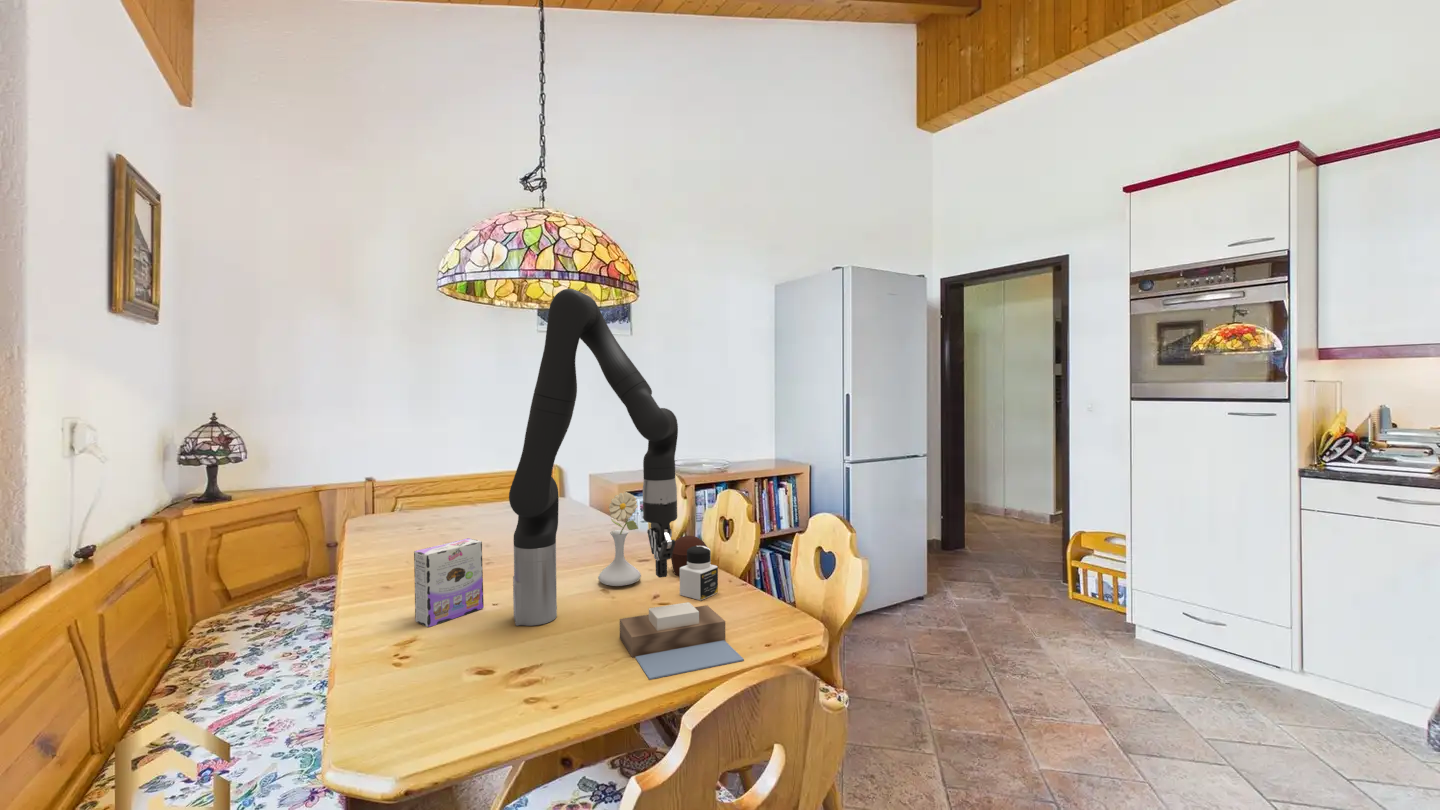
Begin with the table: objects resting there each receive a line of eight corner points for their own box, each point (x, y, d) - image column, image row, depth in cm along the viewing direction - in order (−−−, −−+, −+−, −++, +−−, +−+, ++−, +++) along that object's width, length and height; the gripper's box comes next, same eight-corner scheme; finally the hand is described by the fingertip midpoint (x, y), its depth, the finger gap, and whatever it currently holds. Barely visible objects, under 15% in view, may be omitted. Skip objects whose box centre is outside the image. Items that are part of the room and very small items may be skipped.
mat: (649, 679, 109) (649, 678, 109) (635, 657, 118) (635, 656, 118) (743, 660, 117) (743, 659, 117) (724, 641, 126) (724, 640, 126)
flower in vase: (589, 583, 163) (588, 490, 162) (623, 573, 171) (622, 485, 170) (619, 594, 154) (619, 497, 153) (653, 583, 162) (653, 491, 161)
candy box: (470, 603, 147) (469, 537, 147) (484, 609, 144) (483, 540, 143) (414, 622, 136) (412, 549, 136) (428, 628, 133) (426, 553, 132)
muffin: (671, 565, 178) (671, 532, 178) (709, 566, 178) (709, 532, 177) (666, 578, 166) (666, 542, 166) (707, 579, 166) (707, 543, 166)
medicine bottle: (700, 601, 149) (700, 553, 149) (679, 595, 153) (678, 548, 153) (718, 593, 155) (718, 546, 154) (696, 587, 159) (696, 542, 159)
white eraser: (657, 630, 121) (657, 618, 121) (648, 620, 127) (648, 608, 127) (699, 623, 125) (699, 611, 125) (688, 613, 130) (688, 602, 130)
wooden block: (632, 657, 118) (632, 637, 118) (619, 637, 128) (619, 619, 127) (725, 640, 126) (725, 621, 126) (707, 622, 135) (707, 605, 135)
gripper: (635, 495, 138) (636, 570, 139) (652, 505, 126) (654, 587, 126) (666, 492, 141) (668, 565, 142) (686, 502, 129) (687, 582, 129)
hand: (661, 576), depth 134 cm, fingers closed
